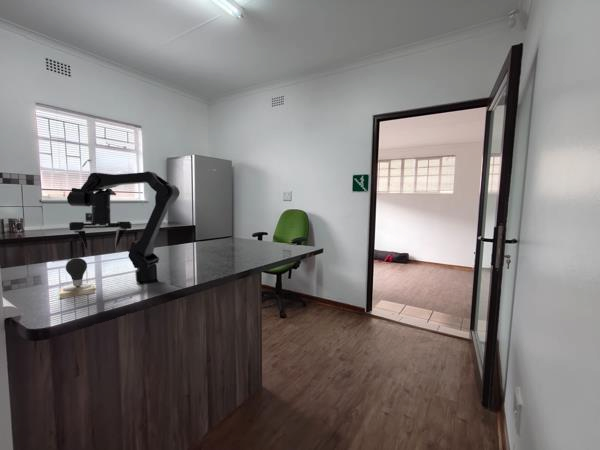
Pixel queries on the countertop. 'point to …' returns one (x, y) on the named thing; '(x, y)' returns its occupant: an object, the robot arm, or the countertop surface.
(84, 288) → the plinth
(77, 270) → the light bulb
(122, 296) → the countertop surface
